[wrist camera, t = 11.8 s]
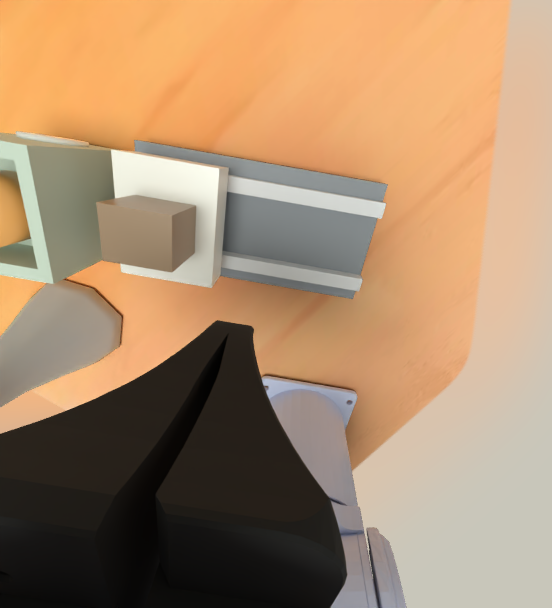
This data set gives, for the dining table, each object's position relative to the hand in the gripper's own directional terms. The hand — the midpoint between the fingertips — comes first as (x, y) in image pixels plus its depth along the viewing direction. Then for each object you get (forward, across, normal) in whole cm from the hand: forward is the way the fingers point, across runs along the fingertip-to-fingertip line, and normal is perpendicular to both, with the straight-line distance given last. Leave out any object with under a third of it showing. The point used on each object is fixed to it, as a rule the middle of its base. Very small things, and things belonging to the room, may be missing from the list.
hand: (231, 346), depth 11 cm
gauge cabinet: (+11, +11, -2) cm, 16 cm away
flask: (+11, +14, +8) cm, 19 cm away
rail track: (+10, +1, -2) cm, 11 cm away
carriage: (+8, +5, -2) cm, 9 cm away
